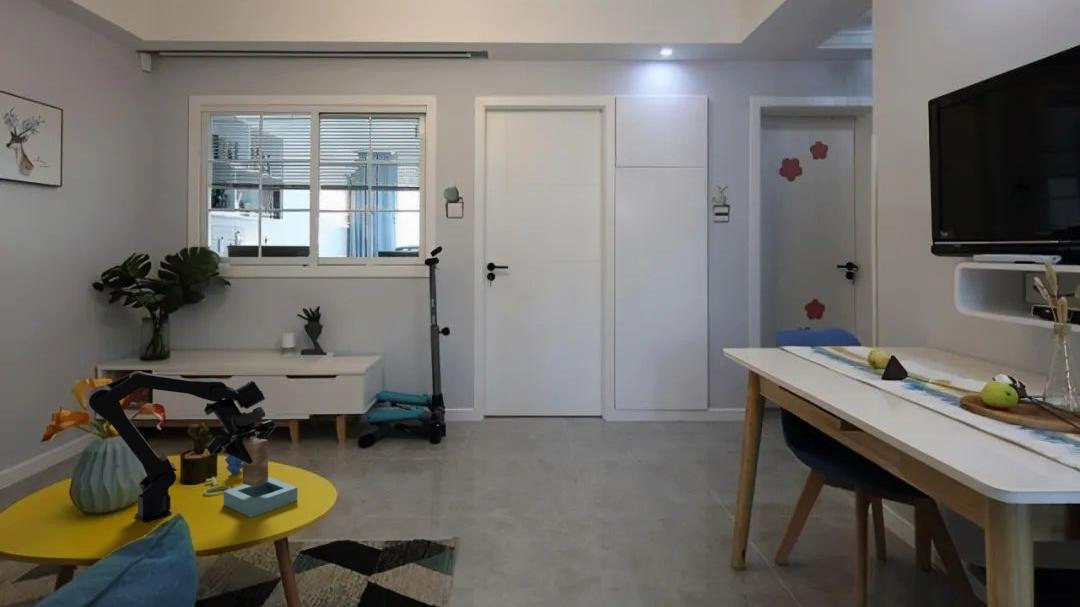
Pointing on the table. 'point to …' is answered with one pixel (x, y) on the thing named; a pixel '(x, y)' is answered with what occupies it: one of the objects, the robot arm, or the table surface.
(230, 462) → the grapes
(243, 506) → the box
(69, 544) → the table surface
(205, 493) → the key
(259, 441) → the walnut block
